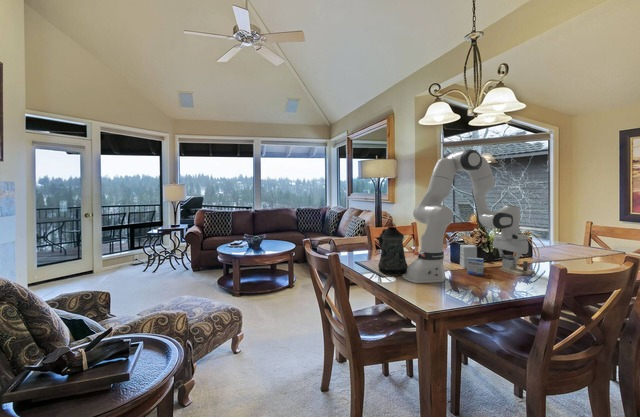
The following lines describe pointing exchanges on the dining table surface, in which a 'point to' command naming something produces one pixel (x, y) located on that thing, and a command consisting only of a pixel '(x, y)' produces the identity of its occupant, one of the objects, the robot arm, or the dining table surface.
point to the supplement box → (467, 254)
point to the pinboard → (519, 270)
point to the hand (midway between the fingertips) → (509, 258)
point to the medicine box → (475, 266)
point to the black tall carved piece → (392, 252)
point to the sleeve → (509, 262)
